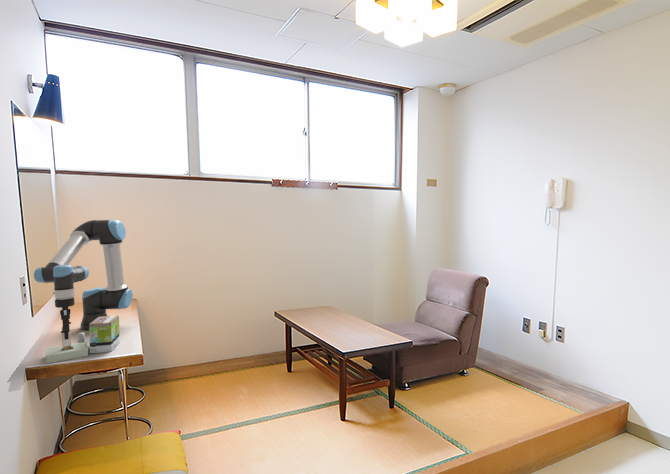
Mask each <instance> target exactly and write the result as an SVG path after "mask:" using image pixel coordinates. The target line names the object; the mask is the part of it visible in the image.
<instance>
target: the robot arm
mask: <svg viewBox="0 0 670 474" xmlns="http://www.w3.org/2000/svg"><path fill="white" fill-rule="evenodd" d="M125 227H126V226H125V225H124V224H123V222H122V221H120V220H119V219H98V220H97V219H92V220H87V221H85V222H84V223H82V224H80V225H78V226H77V227H76V228H74V229H73V231H71V233H70V235H69V238H68V240H67V241H66V242H65V243H64V244H63V245H62V246H61V247H60V249H59V250H58V251H57V253H55V255H54V256H53V257H52V258H51V260H49V262H48V263H47V264H46V265H45V266H44V267H43V266H42V267H38V268H35V270H34V272H33V279H34V280H35V282H36V283H43V284H48V283H51V284H52V283H53V287H54V289H53V290H54V291H53V292H52V294H53V295H54V307H55V308H57V309H59V308H60V309H61V310H59V314H60V320H61V321H62V327H63V331H62V330H61V331H60V334H62V333H63V343H62V346H63V347H64V346H70V337H71V328H70V329H69V326H70V325H71V324H72V322H71V321H70V319H71V309H70V308H69V307H73V306H75V297H74V296H75V288H74V284H75V283H78V282H82V281H84V280H86V279H87V278H89V274H90V272H89V269H88V267H86V266H85V265H76V266H73V265H71V264H70V263H71V262H72V261H73V259H74V258H75V257H76V255H77V254H79V252H80V251H81V250H82V248H83V247H84V245H85V246H87V245H88V243H90V242H91V241H99V245H100V246H102V250H103V257H104V265H105V266H104V267H105V274H106V281H107V286H106V287H104V286H102V287H101V286H99V287H94V288H89V289H86V290H84V291H83V292H82V295H81V296H82V297H81V298H82V312H83V314H82V315H83V316H82V319H81V322H80V325H79V326H80V330H82V331H89V324H90V323H91V322H93V321H94V320H95V319H96V318H98V317H103V316H108V314H107V310H123V309H125V310H126V309H127V308H129V306H130V305H131V303H132V302H133V301H132V300H133V290H132V289H130V288H129V286H128V284H126V283H125V278H124V277H125V276H124V269H123V262H122V261H123V260H122V251H121V245H122V244H123V240H124V239H126V234H127V232H126V228H125ZM70 327H71V326H70Z"/></svg>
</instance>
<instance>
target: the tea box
mask: <svg viewBox="0 0 670 474" xmlns="http://www.w3.org/2000/svg"><path fill="white" fill-rule="evenodd" d="M88 331H89V332H88V333H89V337H88V338H89V340H88V342H89V354H99V353H100V354H101V353H109V352H112V351H113V350H114V349H115V347H117V345H119V344H120V340H121V339H120V315H107V316H103V317H98V318H96V319H95V320H94V321H93V322H91V323H90V324H89V330H88Z"/></svg>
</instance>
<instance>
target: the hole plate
mask: <svg viewBox="0 0 670 474" xmlns="http://www.w3.org/2000/svg"><path fill="white" fill-rule="evenodd" d="M83 356H84V357H88V356H89V347H88V342H87V341H85V342H83V343H78V342H77V343H71V349H70V350H64V351H63V345H61V346H60V345H59V346H54V347H50V348H49V347H48V348H46V353H45V363H46V364H51V363H57V362H63V361H66V360H72V359H79V358H83Z"/></svg>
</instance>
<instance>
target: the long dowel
mask: <svg viewBox="0 0 670 474" xmlns="http://www.w3.org/2000/svg"><path fill="white" fill-rule="evenodd" d="M69 329H70V330H71V326H69ZM61 331H63V326H62V327H61ZM61 340H62V341H61V342H62V344H63V333H61ZM71 341H72V340H71V336H70V346H64V347H63V351H64V350H70V349H71V344H72V342H71Z"/></svg>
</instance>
